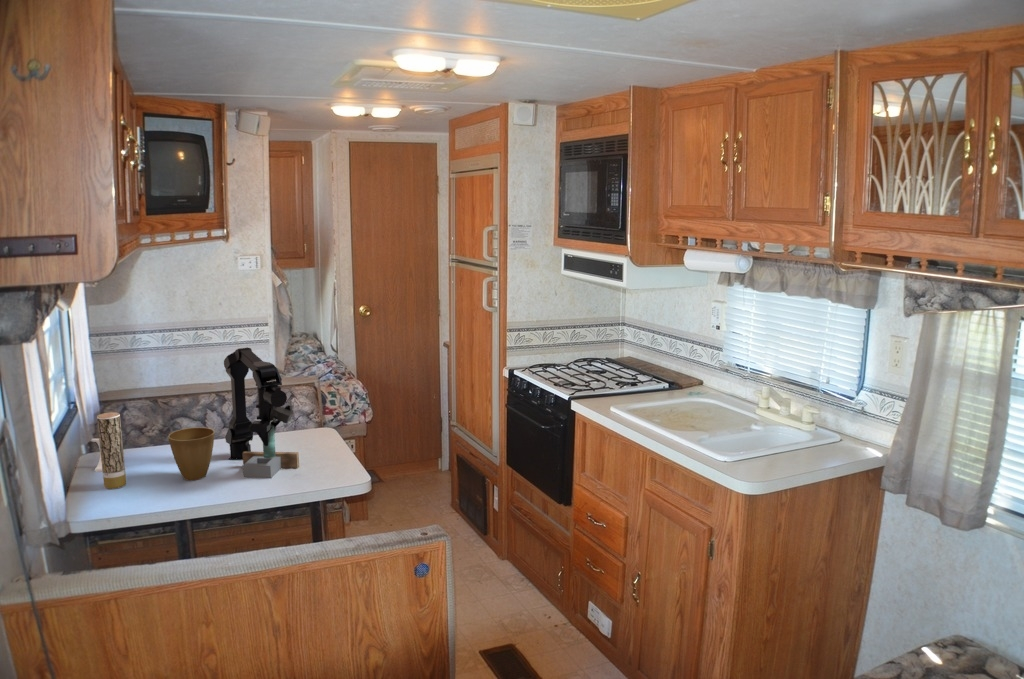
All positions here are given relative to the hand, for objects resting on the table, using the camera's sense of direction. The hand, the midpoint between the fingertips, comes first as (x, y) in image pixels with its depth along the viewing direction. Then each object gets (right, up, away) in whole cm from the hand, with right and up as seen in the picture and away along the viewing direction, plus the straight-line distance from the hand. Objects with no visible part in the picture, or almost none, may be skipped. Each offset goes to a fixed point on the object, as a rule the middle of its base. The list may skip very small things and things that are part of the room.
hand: (268, 443), depth 270 cm
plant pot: (-26, -12, +2) cm, 29 cm away
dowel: (0, -4, +1) cm, 5 cm away
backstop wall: (-3, -10, +11) cm, 15 cm away
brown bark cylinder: (-50, -14, -7) cm, 52 cm away
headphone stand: (-63, -11, +11) cm, 65 cm away
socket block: (-4, -11, +5) cm, 13 cm away
